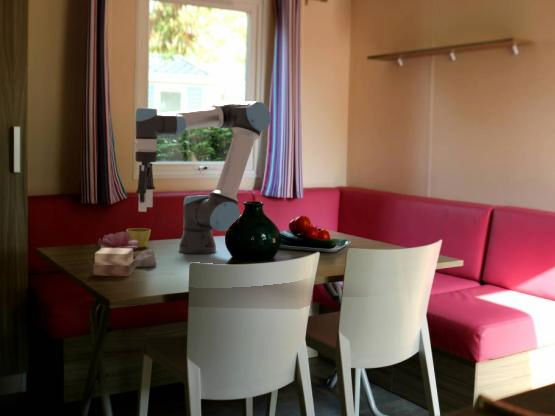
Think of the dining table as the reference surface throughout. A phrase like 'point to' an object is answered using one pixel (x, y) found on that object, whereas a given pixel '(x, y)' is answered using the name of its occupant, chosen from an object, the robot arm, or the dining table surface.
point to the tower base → (114, 269)
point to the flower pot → (139, 236)
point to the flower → (118, 241)
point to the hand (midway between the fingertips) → (145, 209)
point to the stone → (145, 259)
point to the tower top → (114, 256)
